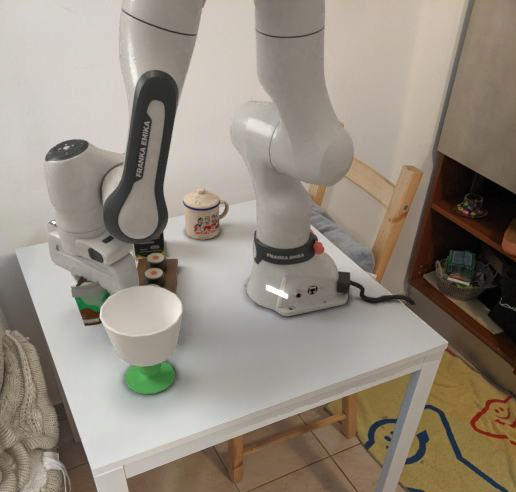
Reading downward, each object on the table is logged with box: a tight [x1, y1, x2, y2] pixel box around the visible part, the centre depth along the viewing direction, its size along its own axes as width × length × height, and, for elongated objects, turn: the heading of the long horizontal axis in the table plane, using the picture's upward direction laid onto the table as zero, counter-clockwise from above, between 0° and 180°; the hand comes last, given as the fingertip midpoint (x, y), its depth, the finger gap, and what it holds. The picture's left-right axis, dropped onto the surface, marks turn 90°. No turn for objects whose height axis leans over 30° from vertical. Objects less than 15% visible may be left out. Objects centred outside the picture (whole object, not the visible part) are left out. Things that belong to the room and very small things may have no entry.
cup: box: [100, 286, 184, 395], centre depth 97 cm, size 14×14×16 cm
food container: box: [70, 276, 110, 327], centre depth 107 cm, size 12×6×10 cm, turn 174°
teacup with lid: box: [182, 187, 230, 241], centre depth 138 cm, size 12×9×12 cm
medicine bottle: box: [133, 231, 166, 260], centre depth 130 cm, size 7×7×12 cm
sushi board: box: [136, 253, 179, 295], centre depth 120 cm, size 9×20×5 cm, turn 4°
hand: (99, 296), depth 107 cm, fingers closed on food container, 6 cm apart
